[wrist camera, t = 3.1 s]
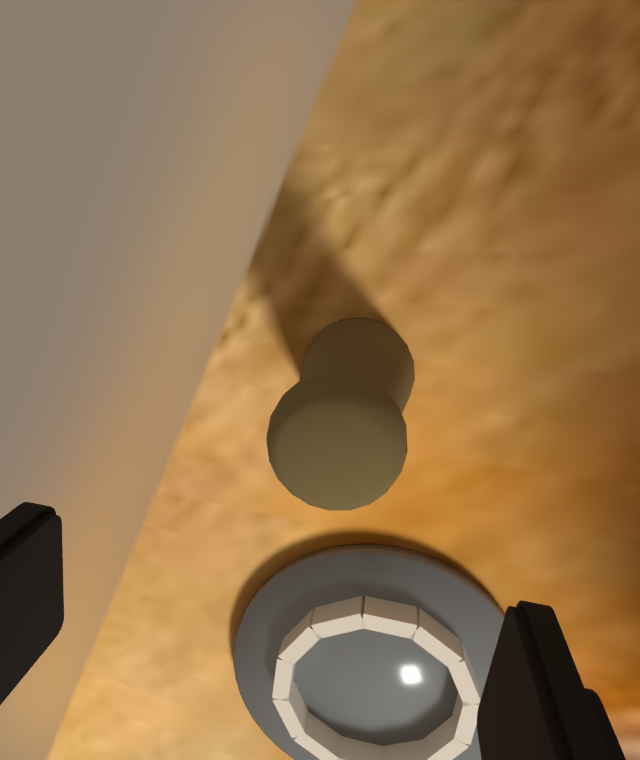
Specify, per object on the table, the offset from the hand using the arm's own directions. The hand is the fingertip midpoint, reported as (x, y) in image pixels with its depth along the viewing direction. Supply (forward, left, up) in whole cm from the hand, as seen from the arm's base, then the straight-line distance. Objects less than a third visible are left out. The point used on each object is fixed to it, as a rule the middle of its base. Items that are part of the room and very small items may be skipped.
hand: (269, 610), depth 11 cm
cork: (0, 0, -19) cm, 19 cm away
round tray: (-4, +19, -19) cm, 27 cm away
